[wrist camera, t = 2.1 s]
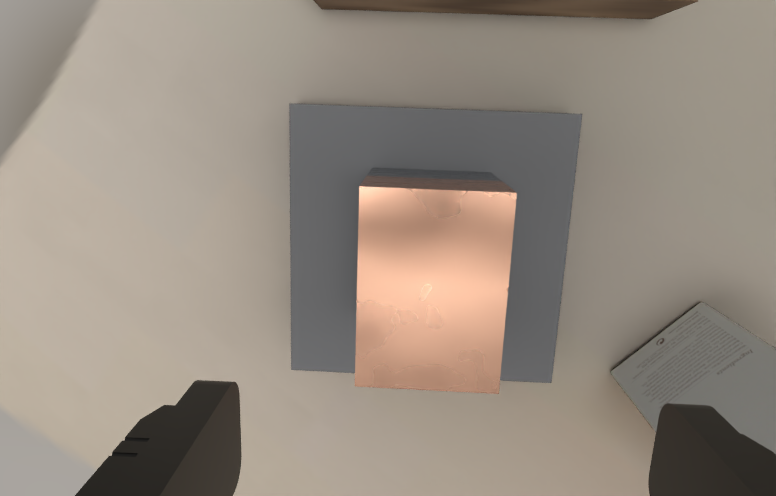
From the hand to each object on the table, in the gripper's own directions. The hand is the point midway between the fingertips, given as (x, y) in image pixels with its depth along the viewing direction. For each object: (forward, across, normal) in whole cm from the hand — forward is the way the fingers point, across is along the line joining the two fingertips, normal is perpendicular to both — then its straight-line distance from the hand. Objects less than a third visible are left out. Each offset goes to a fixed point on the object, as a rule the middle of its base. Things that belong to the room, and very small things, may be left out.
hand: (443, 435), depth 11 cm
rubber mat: (+16, 0, 0) cm, 16 cm away
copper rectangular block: (+14, 0, 0) cm, 14 cm away
